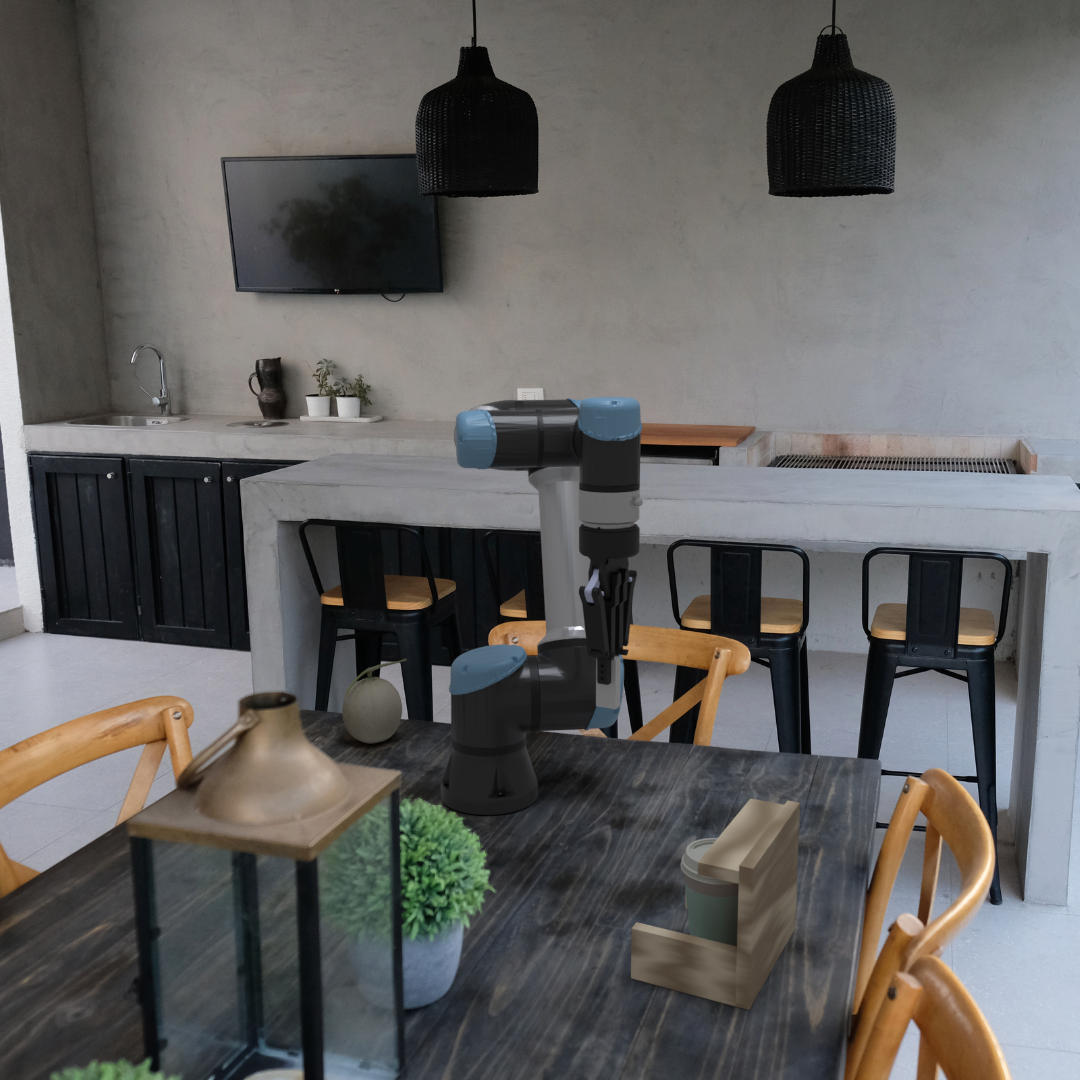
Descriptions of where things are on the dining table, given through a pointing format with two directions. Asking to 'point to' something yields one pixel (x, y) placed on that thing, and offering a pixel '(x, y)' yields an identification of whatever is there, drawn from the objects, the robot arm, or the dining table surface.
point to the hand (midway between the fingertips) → (608, 705)
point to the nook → (763, 912)
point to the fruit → (372, 707)
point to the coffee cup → (709, 899)
